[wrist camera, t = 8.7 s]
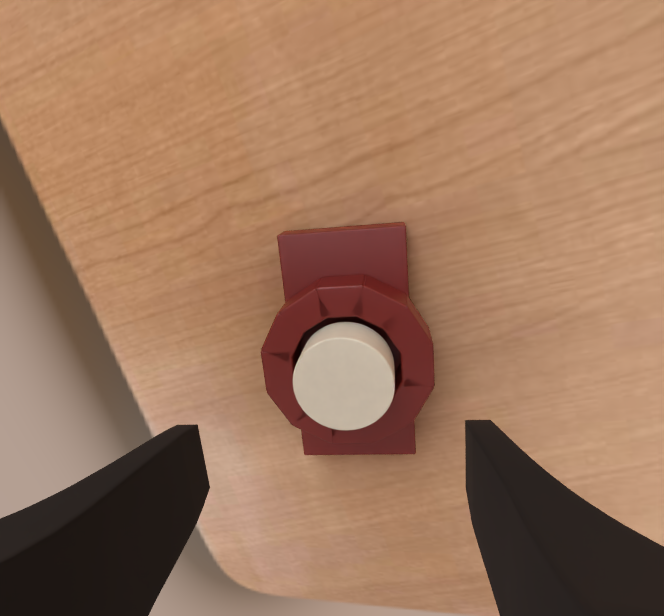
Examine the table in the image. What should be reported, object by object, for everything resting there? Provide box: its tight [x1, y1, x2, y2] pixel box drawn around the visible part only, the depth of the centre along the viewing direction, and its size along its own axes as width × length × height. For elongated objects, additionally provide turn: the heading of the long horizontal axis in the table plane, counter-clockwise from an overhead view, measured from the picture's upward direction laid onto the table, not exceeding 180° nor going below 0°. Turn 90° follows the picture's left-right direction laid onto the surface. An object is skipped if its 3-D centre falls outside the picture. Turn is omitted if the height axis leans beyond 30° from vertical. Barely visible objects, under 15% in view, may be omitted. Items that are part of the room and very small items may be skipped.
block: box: [261, 222, 435, 455], centre depth 19 cm, size 10×6×3 cm, turn 5°
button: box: [293, 322, 395, 430], centre depth 17 cm, size 4×4×2 cm
